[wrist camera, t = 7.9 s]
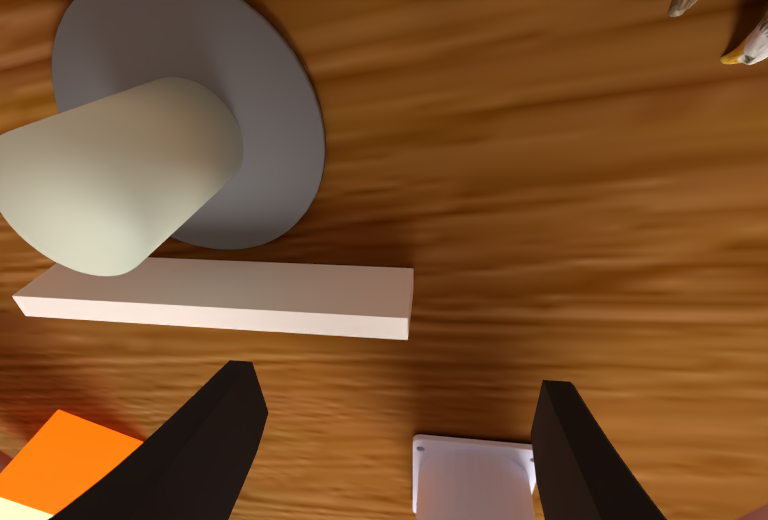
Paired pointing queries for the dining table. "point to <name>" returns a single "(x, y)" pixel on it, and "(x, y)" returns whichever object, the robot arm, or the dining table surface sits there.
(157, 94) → the sage cylinder
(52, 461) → the orange juice
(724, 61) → the eagle figurine
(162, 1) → the rubber mat
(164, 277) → the divider wall
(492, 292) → the dining table surface
